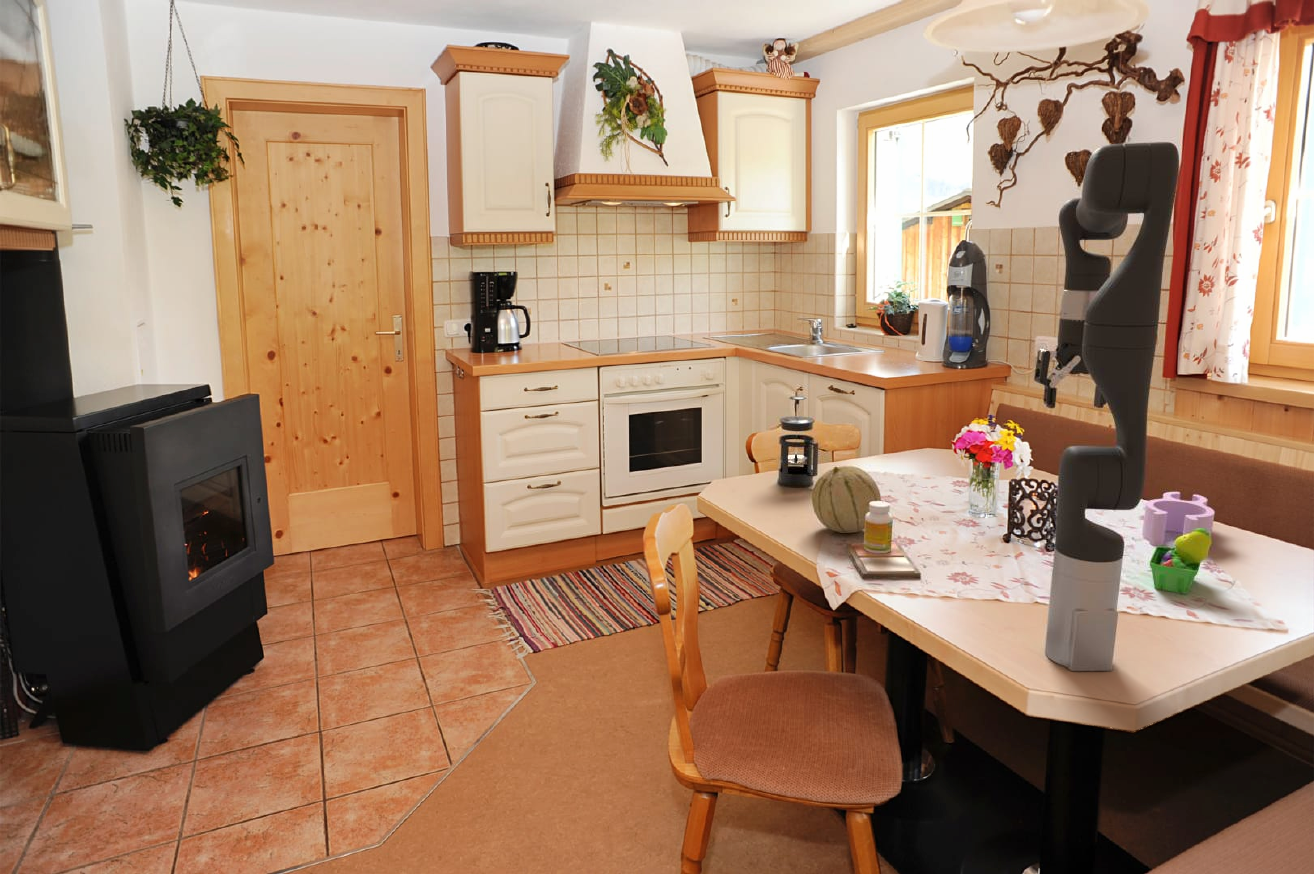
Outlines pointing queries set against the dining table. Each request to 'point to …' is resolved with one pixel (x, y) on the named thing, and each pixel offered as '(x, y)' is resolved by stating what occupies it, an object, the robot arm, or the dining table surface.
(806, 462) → the french press
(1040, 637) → the dining table surface
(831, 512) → the cantaloupe
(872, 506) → the supplement bottle
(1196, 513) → the clip
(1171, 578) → the fruit basket
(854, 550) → the makeup palette
